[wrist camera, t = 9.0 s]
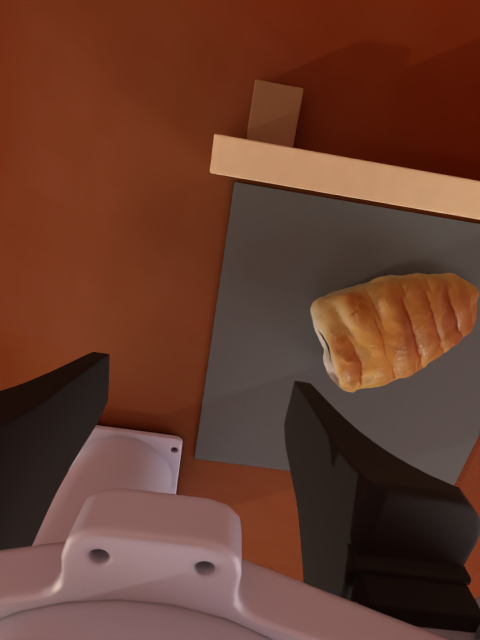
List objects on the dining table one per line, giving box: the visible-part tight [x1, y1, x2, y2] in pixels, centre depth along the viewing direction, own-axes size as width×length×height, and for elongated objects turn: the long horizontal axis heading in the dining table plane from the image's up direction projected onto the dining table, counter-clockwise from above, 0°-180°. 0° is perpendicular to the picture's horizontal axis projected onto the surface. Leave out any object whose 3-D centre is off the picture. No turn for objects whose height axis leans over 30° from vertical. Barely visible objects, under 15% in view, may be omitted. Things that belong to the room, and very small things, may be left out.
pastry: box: [310, 273, 479, 393], centre depth 21 cm, size 9×7×4 cm
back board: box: [210, 80, 480, 219], centre depth 17 cm, size 4×22×5 cm, turn 81°
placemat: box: [194, 182, 480, 485], centre depth 24 cm, size 20×20×1 cm
